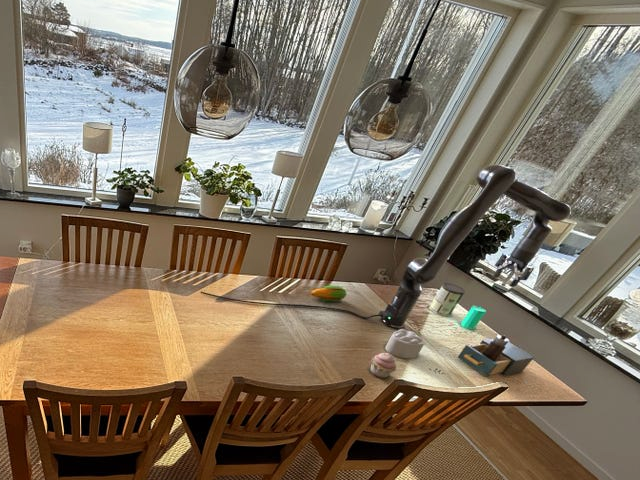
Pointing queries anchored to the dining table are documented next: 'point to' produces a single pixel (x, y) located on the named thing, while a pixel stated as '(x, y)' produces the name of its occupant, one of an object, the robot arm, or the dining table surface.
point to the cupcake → (383, 365)
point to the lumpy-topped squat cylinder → (405, 344)
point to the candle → (473, 317)
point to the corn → (329, 293)
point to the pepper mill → (496, 347)
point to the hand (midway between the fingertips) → (503, 281)
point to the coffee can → (447, 299)
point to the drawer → (483, 360)
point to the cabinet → (513, 358)
